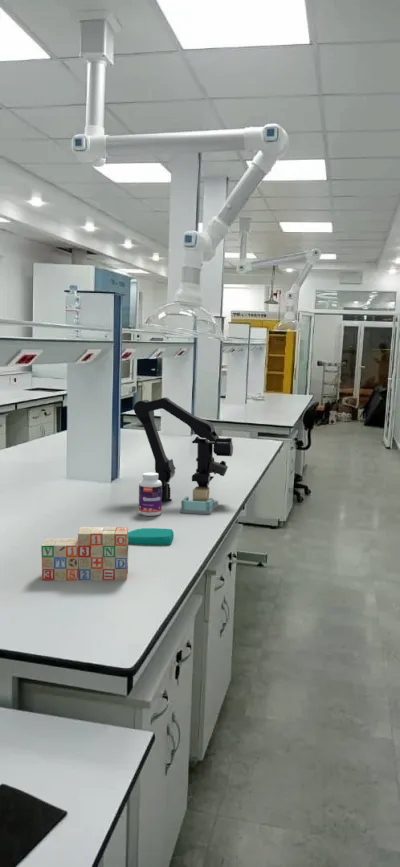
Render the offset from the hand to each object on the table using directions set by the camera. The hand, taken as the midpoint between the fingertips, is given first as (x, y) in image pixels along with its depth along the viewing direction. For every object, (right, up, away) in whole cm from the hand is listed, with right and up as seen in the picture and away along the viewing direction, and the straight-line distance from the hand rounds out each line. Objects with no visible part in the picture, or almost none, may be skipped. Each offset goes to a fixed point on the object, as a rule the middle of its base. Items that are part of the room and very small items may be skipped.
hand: (204, 495), depth 246 cm
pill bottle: (-19, -5, -17) cm, 26 cm away
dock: (-2, -4, -8) cm, 9 cm away
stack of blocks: (-31, -13, -80) cm, 86 cm away
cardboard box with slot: (-1, -2, -5) cm, 6 cm away
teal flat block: (-22, -9, -47) cm, 53 cm away
